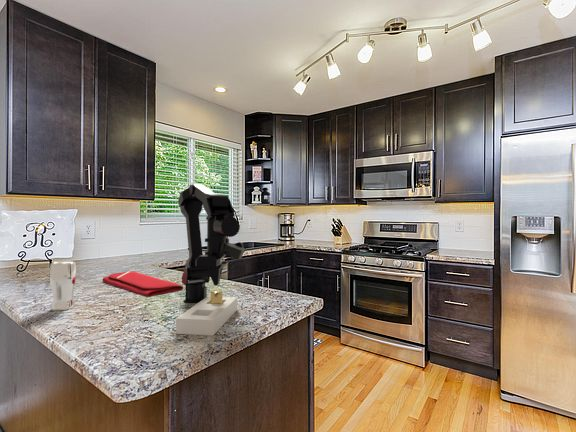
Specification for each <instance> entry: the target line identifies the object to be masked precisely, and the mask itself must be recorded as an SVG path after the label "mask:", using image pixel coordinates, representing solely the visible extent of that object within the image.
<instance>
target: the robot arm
mask: <svg viewBox="0 0 576 432" xmlns="http://www.w3.org/2000/svg"><path fill="white" fill-rule="evenodd" d="M177 200H178V201H177V203H178V206H179V208H180V213H181V214H182V215H183V216H184V218H185V225H186V234H187V244H188V245H187V246H188V259H187V260H186V262H185V265H184V266H185V268H184V270H183V273H182V275H181V283H182V285H184V286H185V294H184V295H185V299H184V300H182V301H183V302H184V303H199V302H200V301H202V300H203V299H205V298H206V297H208V294H207V293H208V287H207V286H206V284H209V283H210V279H211V282H212V283H213V285H214V286H219V284H220V280H221V277H222V272H223V269H224V267H225V266H226V265H228V264H229V262H230V261H227V260H225V258H227V259H228V258H229V259H230V260H233V259H234V260H236V261H239V260H241V259H242V257H243V255H244V253H245V252H246V250H245V248H246V247H244V243H243V242H240V241H238V242H236V243H231V242H230V239H229V238H232V237H235V236H237V234H238V233H239V232H240V228H241V227H240V226H241V224H240V222H239V220H238V219H237V218H236V217H234V216H235V209H234V208H233V205H232V202H231V199H230V198H229V196H228V195H227V194H223V193H215V192H214V191H212V190H211V189H209V188H208V187H206V185H205V184H201V183H192V184H189V186H188V188H186V189H185V190H183V191H181V192H180V194H179V197H178V199H177ZM203 210H204V211H205V212H206V218H205V219H206V221H207V223H206V224H207V227H206V229H207V231H206V232H207V233H206V238H204V242H205V243H206V244H207V245H206V248H207V249H206V251H204V253H203V245H202V235H201V234H202V233H201V224H200V214H201V212H202V211H203Z"/></svg>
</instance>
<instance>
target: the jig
mask: <svg viewBox="0 0 576 432" xmlns="http://www.w3.org/2000/svg"><path fill="white" fill-rule="evenodd" d="M237 310H238V297H232V296H231V297H230V296H229V297H228V296H226V297H225V296H222V304H211V296H207V297H206V298H205V299H203V300H202V301H200V302H199V303H198V302H196V303H195V304H194V305H193V306H192V307H190V308H189V309H187V310H186V311H185V312H183V313H182V314H181V315H179V316H177V317H176V318H175V334H177V335H193V336H196V335H197V336H208V337H213V336H214V335H215V334H216V333H217V332H218V331H219V330H220V329H221V328H222V327H223V325H225V323H227V321H229V320H230V318H232V316H233V315H234V314H235V313H236V312H237Z"/></svg>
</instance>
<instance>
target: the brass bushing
mask: <svg viewBox="0 0 576 432" xmlns="http://www.w3.org/2000/svg"><path fill="white" fill-rule="evenodd" d="M210 297H211V304H222V297H223V291H222V290H212V291H210Z"/></svg>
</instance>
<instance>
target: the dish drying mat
mask: <svg viewBox="0 0 576 432" xmlns="http://www.w3.org/2000/svg"><path fill="white" fill-rule="evenodd" d="M102 282H103V283H106V284H108V285H111V286H114V287H117V288H120V289H123V290H125V291H129V292H132V293H135V294H139V295H141V296H145V297H152V296H156V295H160V294H161V295H163V294H165V293H167V294H168V293H172V292H176V291H181V290H182V291H183V289H184V286H183V285H181V284H178V283H177V282H173V281H168V280H164V279H161V278H157V277H154V276H150V275H147V274H145V273H140V272H137V271H134V270H133V271H132V270H131V271H124V272H123V271H122V272H115V273H111V274H109V275H108V276H104V277H103V278H102Z"/></svg>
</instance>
